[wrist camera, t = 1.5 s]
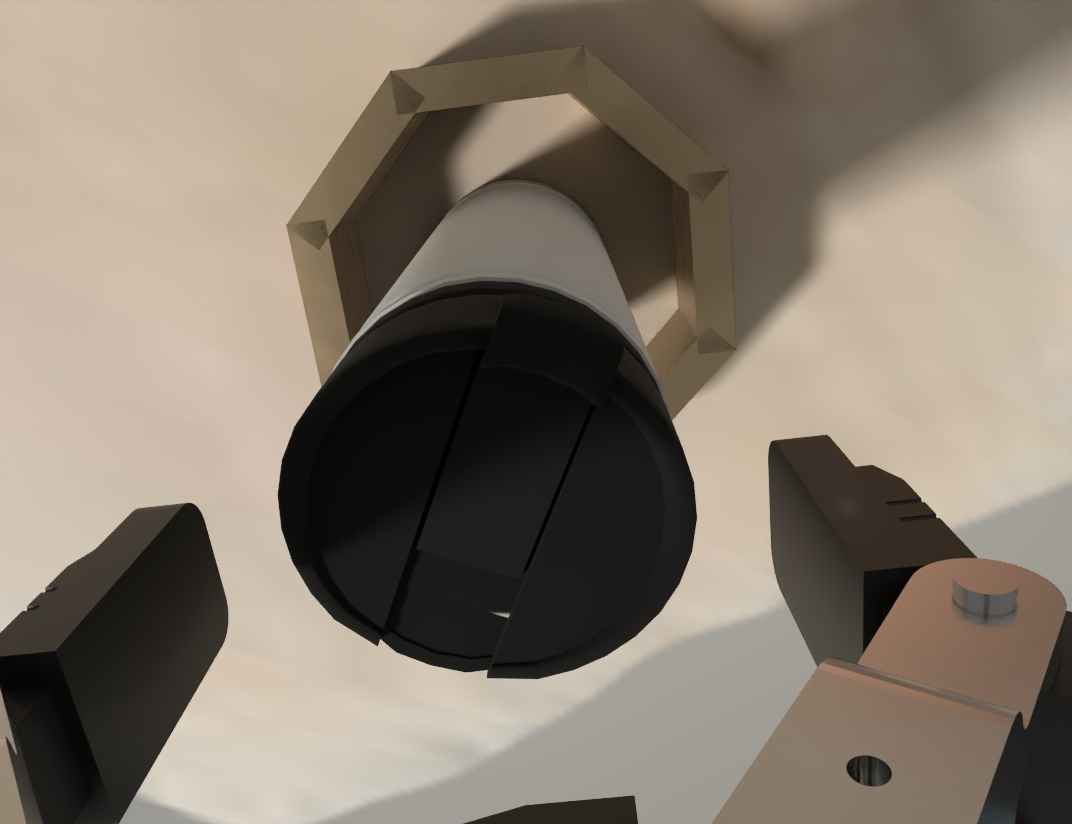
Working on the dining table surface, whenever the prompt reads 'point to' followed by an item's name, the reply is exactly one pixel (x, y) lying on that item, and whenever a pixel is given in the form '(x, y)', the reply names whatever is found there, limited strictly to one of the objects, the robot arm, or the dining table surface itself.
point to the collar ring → (410, 94)
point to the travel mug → (494, 453)
